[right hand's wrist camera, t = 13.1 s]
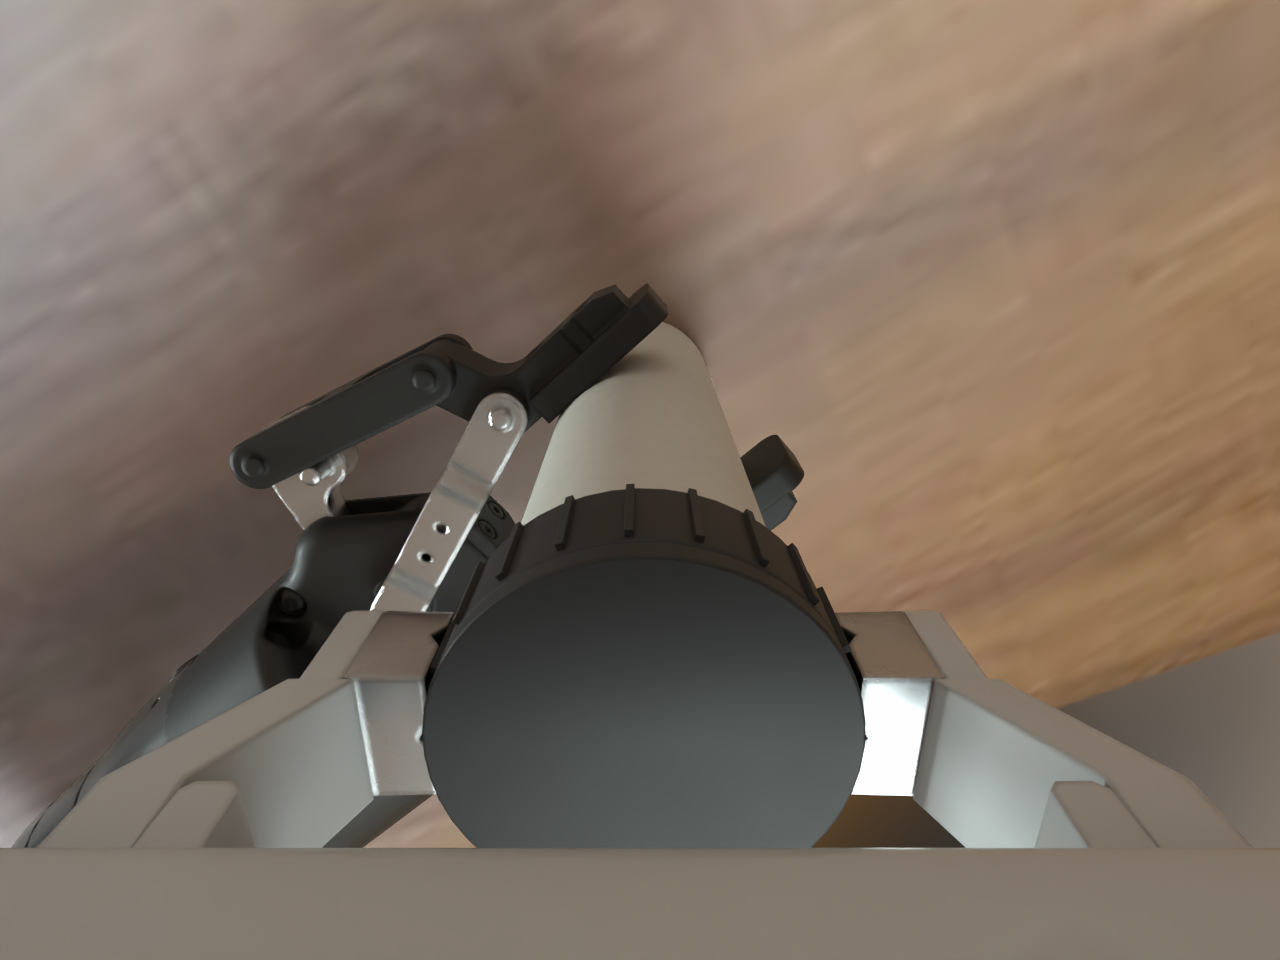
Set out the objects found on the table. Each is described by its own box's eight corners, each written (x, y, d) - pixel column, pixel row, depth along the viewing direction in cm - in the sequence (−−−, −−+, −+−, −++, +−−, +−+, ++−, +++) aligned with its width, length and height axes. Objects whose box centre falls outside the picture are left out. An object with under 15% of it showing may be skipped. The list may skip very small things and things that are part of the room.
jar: (548, 395, 25) (395, 738, 9) (630, 289, 23) (612, 483, 8) (651, 472, 26) (667, 895, 10) (735, 375, 24) (898, 693, 9)
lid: (529, 830, 12) (508, 948, 10) (392, 540, 10) (336, 621, 8) (861, 755, 11) (905, 865, 9) (786, 431, 9) (822, 491, 7)
